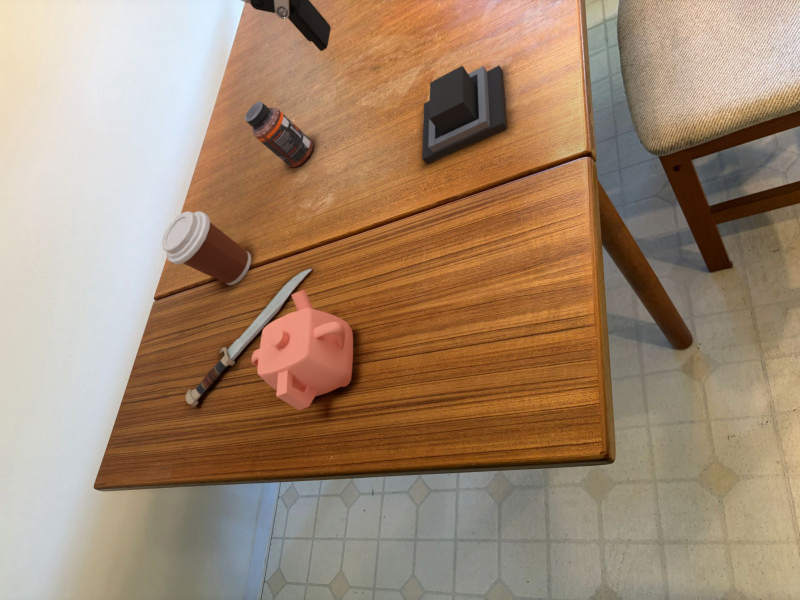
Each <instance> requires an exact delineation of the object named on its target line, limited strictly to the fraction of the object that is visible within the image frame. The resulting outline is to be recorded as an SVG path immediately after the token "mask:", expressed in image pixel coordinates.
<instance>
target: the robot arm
mask: <svg viewBox="0 0 800 600" xmlns="http://www.w3.org/2000/svg"><path fill="white" fill-rule="evenodd" d="M240 1H241V2H244V3H246V4H250V5H251V7H252V8H253V9H254V10H257V11H262V12H267V13H273V14H275V15H276V16H277V18H280V19H281V20H286V19H288V20H289V21H290V23H292V25H293V26H294V27H295V28H296V29H297V30H298V31H299V33H300V34H301V35H302V36H304V38H305V39H306V40H307V41H308V42H310V43H311V42H312V44H313V45H314V46H315V47H316V48H317V49H318V50H319V51H320V52H323V51H325V50H326V49H328V46H329V41H330V35H331V30H332V29H331V24H329V22H328V21H327V20H326V18H325V17H324V16H323V15H322V14H321V13H320V11H319V10H318V9H317V8H316V6H315V5H314V4H313V3H312V1H310V0H240Z"/></svg>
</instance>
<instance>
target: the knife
mask: <svg viewBox="0 0 800 600" xmlns="http://www.w3.org/2000/svg"><path fill="white" fill-rule="evenodd" d="M312 270H313V268H308V269H305V270H303V271H301V272H300V273H298V274H296V275H294V277H292V278H291V279H290V280H289V281H288V282H286V283H285V285H284V286H282V288H281V289H280V290H279V291H278V292H277V294H276V295H275V296H274V297H273V299H271V301H270V302H269V303H268V304H267V306H266V307H265V308H264V309H263V310H262V311H261V313H260V314H259V315H258V316H257V317H256V319H254V321H253V322H252V323H251V324H250V325H249V326H248V327H247V329H246V330H245V331H244V332H243V333H242V334H241V335H240V337H239V338H237V339H236V340H234V342H233V343H232V344H231V345H230V346H229V347H228V348H227V347H225V346H224V347H222V348H220V349H221V350H219V354H222V353H224V356H223V357H222V358H221V359H220V360H219V361H218V362H217V363H216V364H215V365H214V366H213V367H212V368H211V369H210V370H209V371H208V373H207V374H206V375H205V376H204V378H202V380H201V381H200V382H199V384H198V385H197V386H196V388H194V389H191V388H189V389H188V390H187V392H186V393H185V401H186V403H187V404H188V405H190V406H192V407H196V406H197V405H198V404H199V399H200V398H201V397H202V396H203V395H204V394H205V393H206V392H207V391H208V390H209V388H211V386H212V385H213V384H214V383H215V382H216V381H217V379H219V377H220V376H221V375H222V373H223V372H224V371H225V369H226V368H227V367H228V366H231V367H233V366H234V365H235V363H236V358H237V357H238V356H239V355H240V354H241V353H242V351H243V350H244V349H245V348H246V347H247V346H248V345H249V343H251V342H252V341H253V339H254V338H255V337H256V336H257V335H258V334H259V333H260V332H261V330H263V329H264V328H265V327H266V326H267V325H268V324H269V323H270V321H271V320H272V319H273V317H275V315H276V314H277V313H278V312H279V311H280V310H281V308H282V307H283V306H284V304H285V302H286V301H287V299H288V298H289V296H290V295H292V293H293V291H294V290H295V289H296V288H297V287H298V285H300V283H301V282H302V281H303V280H304V279H305V278H306V276H308V274H309V273H310V272H311V271H312Z"/></svg>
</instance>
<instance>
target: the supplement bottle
mask: <svg viewBox="0 0 800 600" xmlns="http://www.w3.org/2000/svg"><path fill="white" fill-rule="evenodd" d="M244 120H245V122H246V123H247V124H249V126H250V127H252V135H253V136H254V138H256V139H257V140H258V141H259V142H260V143H262V145H264V146H265V147H266V148H267V149H269V150H270V151H271V153H273V154H274V155H276V156H277V158H279V159H280V160H281V161H282V162H284V163H285V164H286V165H288V166H289V167H291V168H297V167H299V166H301V165H303V164H304V163H305V162H306V161H307V160H308V159H309V157H310V155H311V154H312V153H313V149H314V142H313V141H312V140H311V139H310V138H309V136H307V134H305V132H304V131H302V129H300V128H299V127H298V126H297V125H296V124H295V123H294V122H292V121H291V120H290V119H289V118H288V117H287V115H285V114H284V113H283V112H282V111H281V110H280V109H279V108H277V107H268V106H267V105H266V104H265V103H264V102H262V101H257V102H255V103H254V104H252V105H251V106H250V108H249V109H248V110H247V112H246V114H245V116H244Z"/></svg>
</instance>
